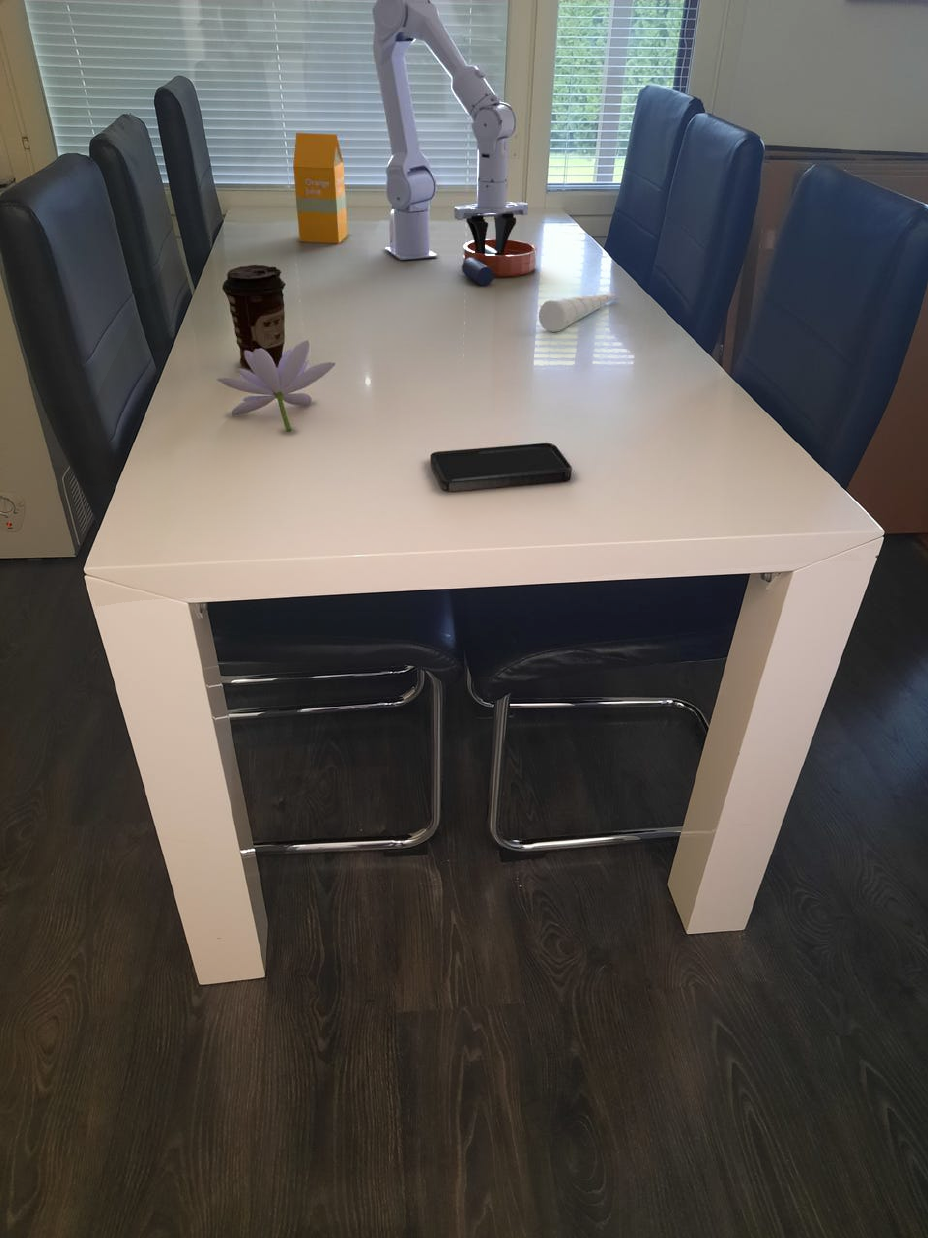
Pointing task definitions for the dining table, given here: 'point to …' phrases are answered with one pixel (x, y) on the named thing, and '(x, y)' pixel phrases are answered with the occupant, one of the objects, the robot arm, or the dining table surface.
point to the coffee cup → (257, 310)
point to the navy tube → (477, 271)
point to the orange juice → (319, 188)
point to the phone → (499, 466)
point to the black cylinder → (491, 251)
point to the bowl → (505, 257)
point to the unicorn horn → (569, 310)
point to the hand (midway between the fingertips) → (489, 256)
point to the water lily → (276, 379)
